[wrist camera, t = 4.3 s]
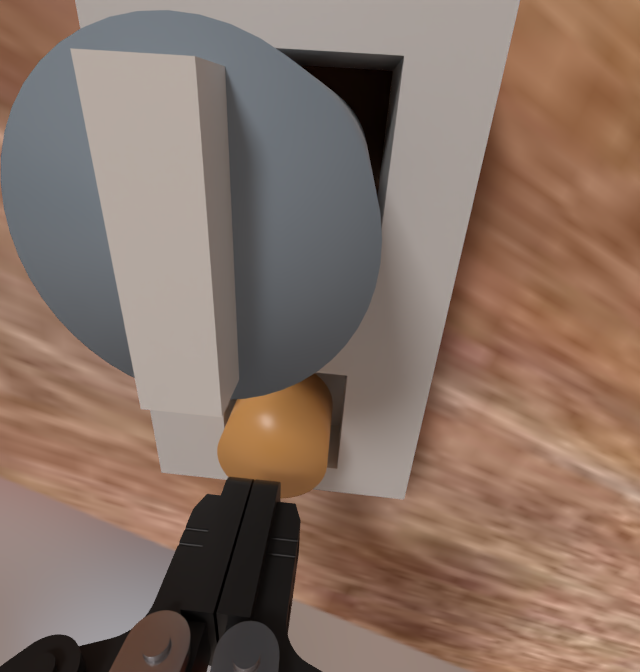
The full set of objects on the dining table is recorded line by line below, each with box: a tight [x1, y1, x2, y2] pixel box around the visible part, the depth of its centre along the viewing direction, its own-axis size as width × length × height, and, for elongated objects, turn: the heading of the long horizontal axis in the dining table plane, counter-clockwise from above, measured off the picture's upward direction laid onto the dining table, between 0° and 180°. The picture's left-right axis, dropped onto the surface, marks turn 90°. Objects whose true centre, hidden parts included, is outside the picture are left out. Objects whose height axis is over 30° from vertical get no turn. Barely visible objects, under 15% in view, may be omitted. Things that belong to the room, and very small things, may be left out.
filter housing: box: [75, 0, 520, 499], centre depth 15 cm, size 16×10×4 cm, turn 177°
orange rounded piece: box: [217, 373, 333, 498], centre depth 15 cm, size 4×4×3 cm
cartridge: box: [1, 10, 382, 417], centre depth 9 cm, size 4×4×12 cm
